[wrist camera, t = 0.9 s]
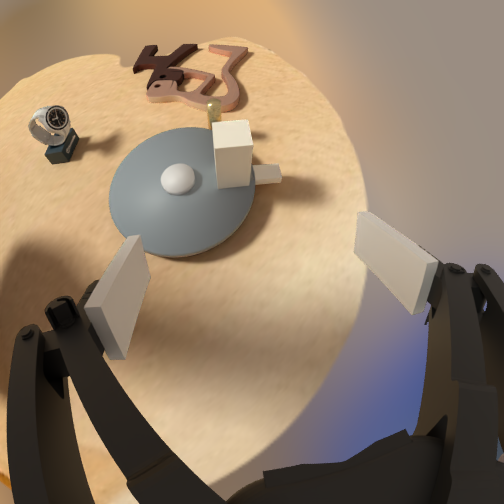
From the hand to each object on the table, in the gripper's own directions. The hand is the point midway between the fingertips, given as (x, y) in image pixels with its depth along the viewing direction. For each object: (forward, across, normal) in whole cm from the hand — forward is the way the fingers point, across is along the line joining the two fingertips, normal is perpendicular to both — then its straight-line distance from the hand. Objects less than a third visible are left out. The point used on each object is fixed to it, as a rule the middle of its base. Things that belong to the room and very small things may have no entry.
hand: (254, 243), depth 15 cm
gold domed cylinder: (+31, -1, +5) cm, 31 cm away
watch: (+33, -30, +8) cm, 45 cm away
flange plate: (+23, -5, -1) cm, 23 cm away
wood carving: (+45, -8, +19) cm, 50 cm away
